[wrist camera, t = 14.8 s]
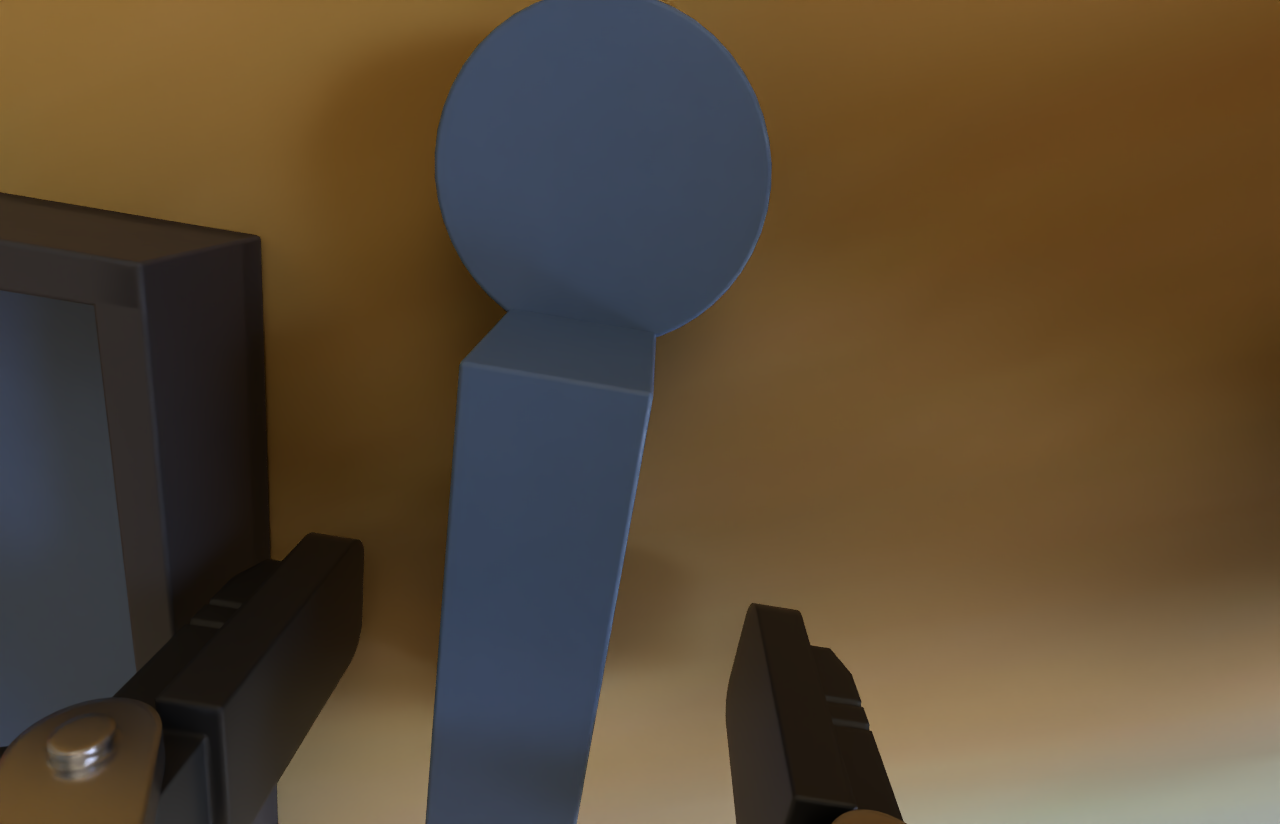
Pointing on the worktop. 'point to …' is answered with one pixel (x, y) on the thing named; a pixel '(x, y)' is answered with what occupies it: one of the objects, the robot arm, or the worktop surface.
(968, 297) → the worktop surface
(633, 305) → the slate-blue spoon
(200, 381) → the cutlery tray
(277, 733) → the robot arm
